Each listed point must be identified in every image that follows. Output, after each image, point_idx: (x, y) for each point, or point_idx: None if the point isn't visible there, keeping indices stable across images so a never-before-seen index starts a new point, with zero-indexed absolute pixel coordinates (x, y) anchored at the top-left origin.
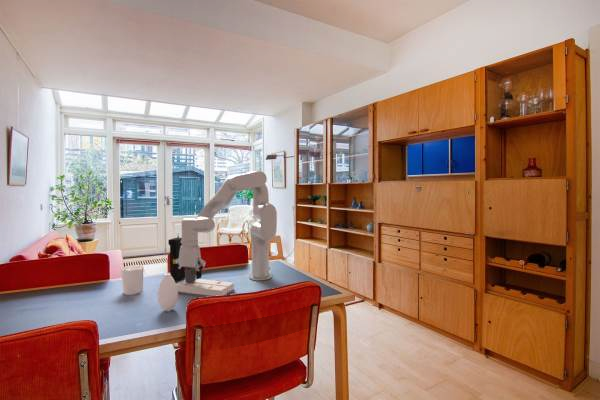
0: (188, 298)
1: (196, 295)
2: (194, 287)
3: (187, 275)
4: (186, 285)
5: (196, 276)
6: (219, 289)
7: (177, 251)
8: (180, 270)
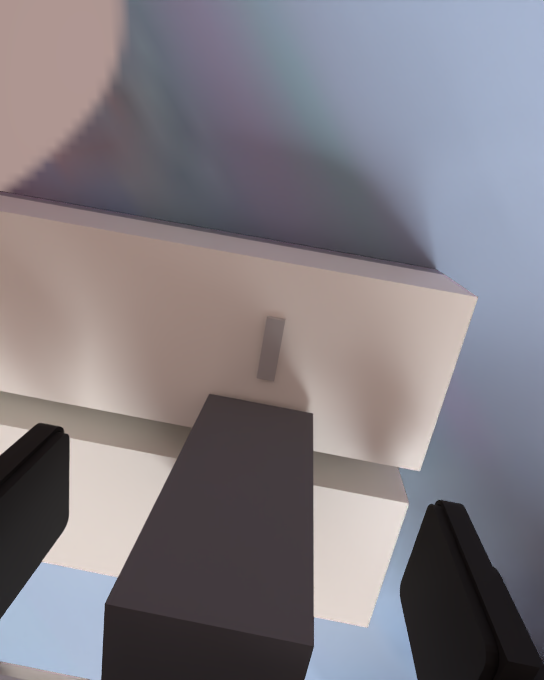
0: (121, 86)
1: (71, 204)
2: (36, 216)
3: (251, 484)
4: (226, 290)
5: (27, 452)
6: None
7: None
8: (495, 634)
